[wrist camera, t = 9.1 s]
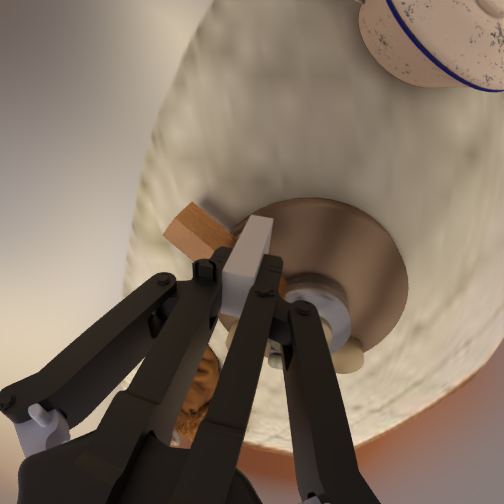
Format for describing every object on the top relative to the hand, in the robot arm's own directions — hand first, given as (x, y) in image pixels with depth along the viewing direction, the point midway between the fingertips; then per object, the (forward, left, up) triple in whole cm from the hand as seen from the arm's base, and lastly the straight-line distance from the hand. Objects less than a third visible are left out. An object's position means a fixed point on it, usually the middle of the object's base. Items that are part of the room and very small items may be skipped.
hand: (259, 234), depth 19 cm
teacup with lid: (-8, -17, -5) cm, 19 cm away
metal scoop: (-1, +4, -2) cm, 5 cm away
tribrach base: (-5, +7, -4) cm, 10 cm away
